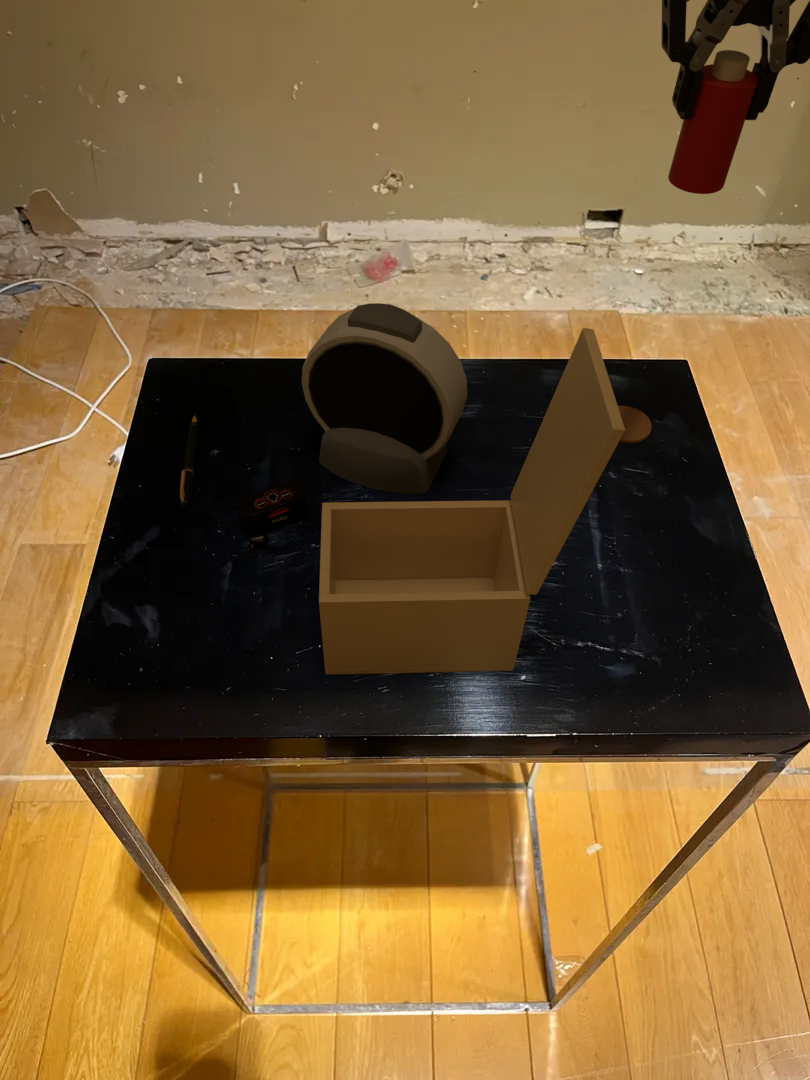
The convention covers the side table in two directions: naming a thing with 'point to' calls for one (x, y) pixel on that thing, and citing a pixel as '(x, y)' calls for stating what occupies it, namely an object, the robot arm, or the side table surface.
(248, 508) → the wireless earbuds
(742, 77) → the sauce bottle
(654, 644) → the side table surface
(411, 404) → the alarm clock
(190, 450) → the fountain pen
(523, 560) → the breadbox lid
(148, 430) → the side table surface
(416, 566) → the box
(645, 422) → the coaster
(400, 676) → the side table surface
